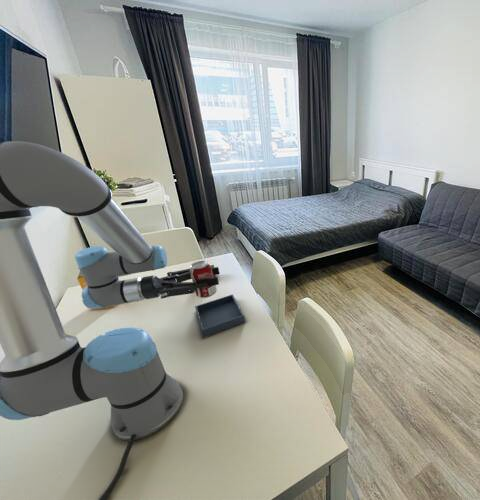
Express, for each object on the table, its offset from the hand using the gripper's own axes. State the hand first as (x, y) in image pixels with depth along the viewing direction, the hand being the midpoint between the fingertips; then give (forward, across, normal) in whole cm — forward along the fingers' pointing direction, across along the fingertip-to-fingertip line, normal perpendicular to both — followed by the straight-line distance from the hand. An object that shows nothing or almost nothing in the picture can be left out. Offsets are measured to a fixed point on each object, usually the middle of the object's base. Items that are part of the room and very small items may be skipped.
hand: (218, 275), depth 95 cm
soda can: (-5, 0, -7) cm, 8 cm away
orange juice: (-47, -27, -18) cm, 57 cm away
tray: (-3, 0, -18) cm, 18 cm away
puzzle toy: (-8, -31, -18) cm, 37 cm away
